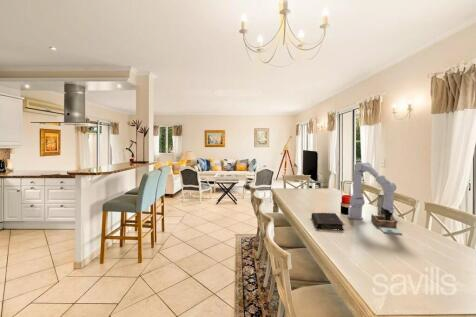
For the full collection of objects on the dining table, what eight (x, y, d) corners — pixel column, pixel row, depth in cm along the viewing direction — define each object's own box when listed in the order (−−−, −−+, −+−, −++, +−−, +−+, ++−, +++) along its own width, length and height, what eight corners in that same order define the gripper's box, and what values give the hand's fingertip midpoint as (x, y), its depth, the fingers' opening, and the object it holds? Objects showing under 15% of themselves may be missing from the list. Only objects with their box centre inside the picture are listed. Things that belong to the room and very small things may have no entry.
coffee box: (388, 213, 199) (389, 194, 198) (392, 216, 192) (393, 196, 192) (377, 213, 200) (377, 194, 199) (380, 215, 193) (381, 196, 192)
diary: (316, 230, 163) (316, 222, 162) (311, 218, 187) (311, 212, 187) (345, 231, 160) (345, 223, 160) (336, 219, 185) (336, 213, 184)
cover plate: (383, 234, 156) (383, 231, 155) (378, 228, 166) (378, 226, 166) (401, 235, 153) (402, 233, 153) (395, 229, 163) (395, 227, 163)
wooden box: (376, 226, 168) (376, 219, 167) (371, 220, 180) (371, 214, 180) (396, 228, 165) (396, 220, 164) (389, 222, 177) (390, 215, 177)
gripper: (399, 203, 155) (398, 224, 156) (391, 198, 169) (390, 217, 170) (387, 203, 157) (386, 223, 158) (380, 198, 171) (379, 216, 172)
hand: (387, 220), depth 164 cm, fingers closed
